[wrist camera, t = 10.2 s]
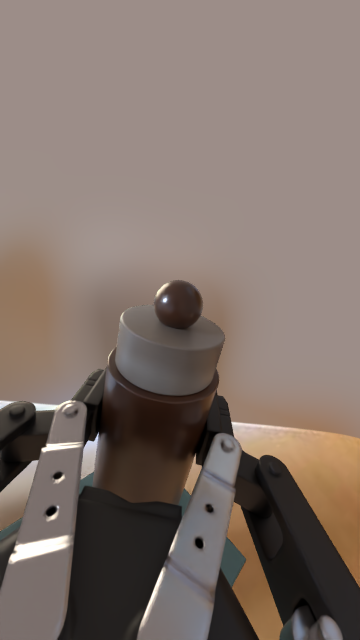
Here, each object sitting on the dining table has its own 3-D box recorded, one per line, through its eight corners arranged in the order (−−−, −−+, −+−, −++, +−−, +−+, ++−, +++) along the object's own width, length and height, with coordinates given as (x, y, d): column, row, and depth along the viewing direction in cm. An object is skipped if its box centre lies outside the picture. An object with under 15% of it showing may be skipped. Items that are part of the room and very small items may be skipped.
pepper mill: (72, 508, 14) (92, 261, 9) (139, 461, 17) (181, 268, 12) (117, 601, 11) (189, 309, 6) (187, 520, 14) (268, 299, 9)
